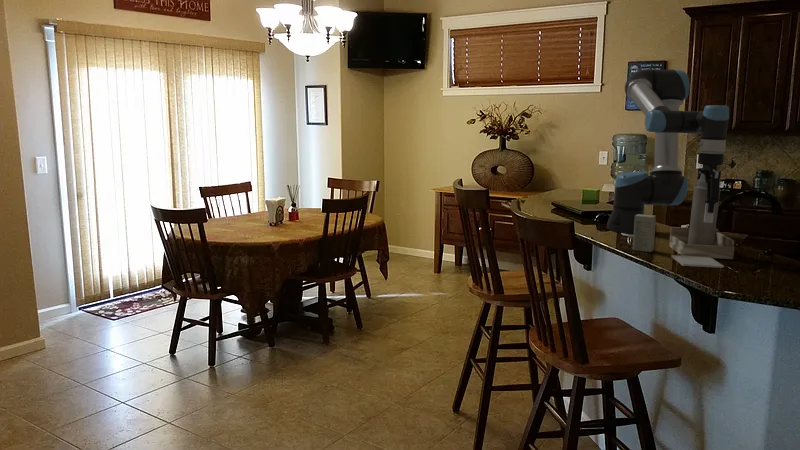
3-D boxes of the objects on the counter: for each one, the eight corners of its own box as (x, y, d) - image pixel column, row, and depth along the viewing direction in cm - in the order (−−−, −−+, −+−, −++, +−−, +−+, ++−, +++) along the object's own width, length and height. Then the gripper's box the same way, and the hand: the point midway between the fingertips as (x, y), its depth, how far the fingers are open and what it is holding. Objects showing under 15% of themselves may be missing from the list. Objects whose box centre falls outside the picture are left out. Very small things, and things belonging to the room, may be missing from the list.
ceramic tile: (671, 256, 199) (671, 254, 198) (709, 258, 197) (709, 256, 197) (682, 265, 187) (683, 263, 187) (723, 267, 185) (723, 266, 185)
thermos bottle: (708, 250, 209) (718, 170, 204) (715, 255, 201) (726, 172, 196) (684, 249, 210) (693, 169, 205) (690, 254, 203) (699, 171, 198)
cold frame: (668, 246, 214) (670, 226, 213) (715, 248, 212) (717, 228, 211) (683, 256, 199) (685, 235, 198) (733, 258, 197) (735, 238, 196)
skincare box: (653, 250, 207) (657, 215, 205) (651, 252, 204) (654, 217, 201) (634, 247, 211) (637, 213, 209) (631, 249, 207) (634, 215, 205)
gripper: (689, 150, 210) (681, 214, 214) (711, 154, 190) (702, 225, 194) (711, 150, 209) (704, 215, 213) (736, 155, 189) (727, 226, 193)
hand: (703, 220), depth 204 cm, fingers closed on thermos bottle, 8 cm apart
